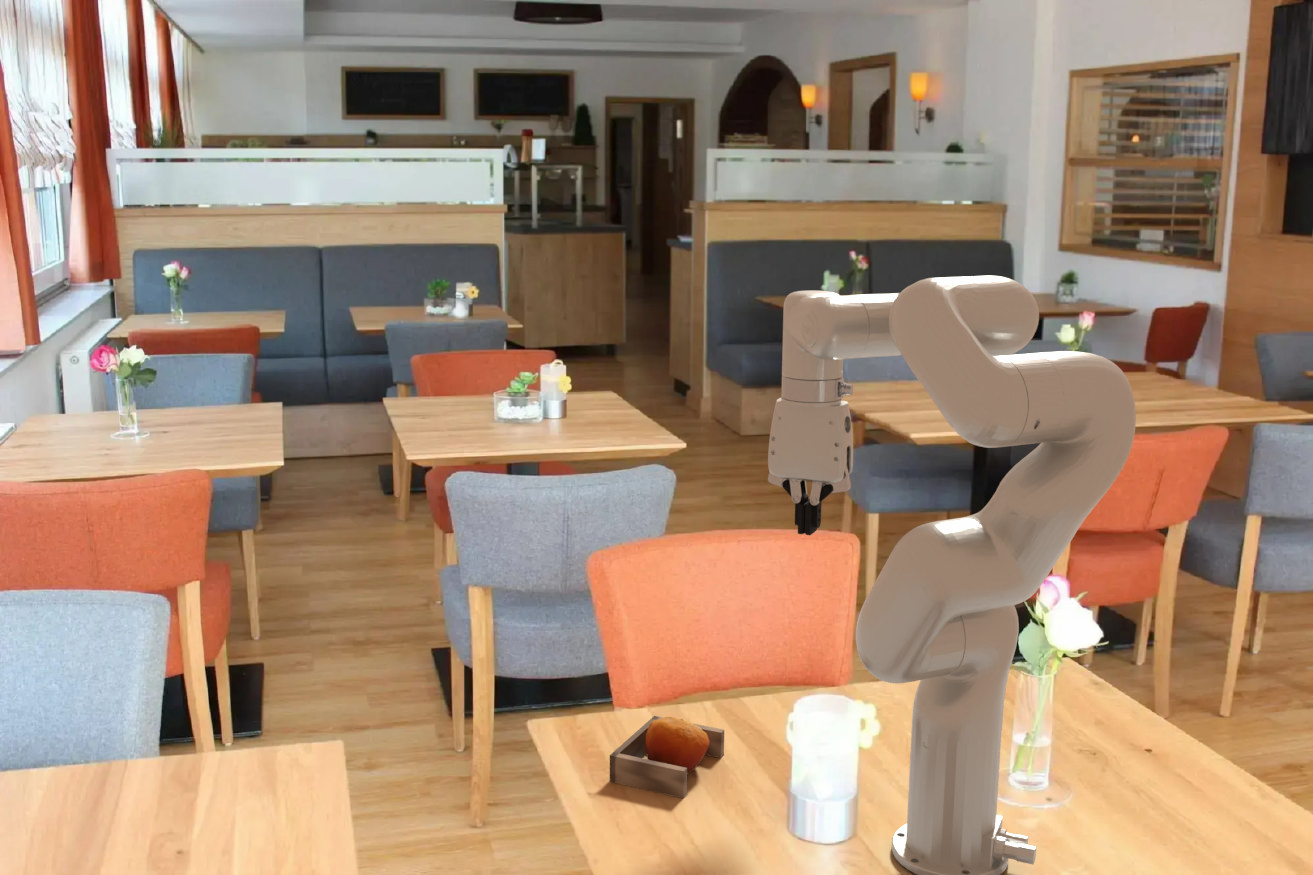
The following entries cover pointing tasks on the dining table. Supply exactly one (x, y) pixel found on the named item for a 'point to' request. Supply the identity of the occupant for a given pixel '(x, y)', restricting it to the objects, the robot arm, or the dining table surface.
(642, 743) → the u-shaped wall frame
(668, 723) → the fruit
